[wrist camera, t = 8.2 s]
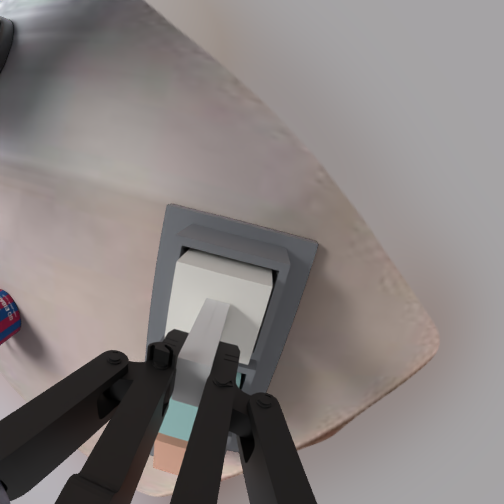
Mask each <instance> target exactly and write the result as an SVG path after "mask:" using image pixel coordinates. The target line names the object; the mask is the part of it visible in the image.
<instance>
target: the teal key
mask: <svg viewBox="0 0 504 504" xmlns="http://www.w3.org/2000/svg"><path fill="white" fill-rule="evenodd" d="M240 379H241V373H239V372H237V376H236V384H237V386H238V387H239V386H240ZM197 410H198V407H195V406H192V405H188V404H185V403H182V402H178V401H175V400H172V396H171V398H170V401H169V407H168V410H167V412H166V415H165V417H164V420H163V422H162V425H161V427H160V430H159V433H162V434H165V435H168V436H172V437H175V438H178V439H182V440H185V441H189V437H190V434H191V430H192V427H193V424H194V420H195V417H196V414H197Z"/></svg>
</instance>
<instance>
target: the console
mask: <svg viewBox="0 0 504 504" xmlns="http://www.w3.org/2000/svg"><path fill="white" fill-rule="evenodd" d="M190 248H194V249H198V250H201V251H205V252H209V253H213V254H217V255H220V256H224V257H228V258H232V259H236V260H239V261H243V262H247V263H251V264H255V265H258V266H262V267H266V268H270V269H272V286H273V287H272V290H271V294H270V297H269V300H268V303H267V307H266V310H265V313H264V316H263V320H262V323H261V326H260V329H259V332H258V336H257V339H256V342H255V345H254V348H253V351H252V354H251V358H250V361H249V364H248V365H247V364H243V363H238V370H237V372H239V373H241V379H240V386H239V389H241V390H242V391H243V392H245V393H247V394H249V395H251V396H252V394H255V393H259V392H263V393H266V391H267V389H268V386H269V384H270V381H271V379H272V376H273V374H274V371H275V368H276V366H277V363H278V361H279V358H280V355H281V353H282V350H283V347H284V345H285V342H286V339H287V336H288V334H289V331H290V328H291V325H292V323H293V320H294V317H295V314H296V311H297V308H298V305H299V303H300V300H301V297H302V294H303V291H304V288H305V285H306V282H307V279H308V276H309V273H310V270H311V267H312V263H313V260H314V257H315V254H316V251H317V248H318V243H317V242H316V241H314V240H310V239H307V238H303V237H299V236H296V235H292V234H288V233H285V232H281V231H277V230H273V229H270V228H266V227H262V226H258V225H255V224H251V223H247V222H243V221H239V220H235V219H231V218H227V217H224V216H220V215H216V214H212V213H208V212H204V211H200V210H196V209H192V208H187V207H183V206H179V205H175V204H168V205H167V207H166V212H165V217H164V222H163V228H162V233H161V239H160V245H159V251H158V257H157V263H156V270H155V276H154V283H153V291H152V298H151V307H150V315H149V324H148V334H147V345H146V356H145V362H146V360H147V348H148V345H149V344H150V343H153V342H163V340H164V338H165V330H166V323H167V316H168V310H169V303H170V297H171V290H172V284H173V279H174V273H175V267H176V262H177V260H178V259H179V258H181V257H182V256H183V255H184V254H185V253H186V252H187V251H188V250H189V249H190ZM227 450H229V451H234V452H239V449H238V444H237V439H236V434H234V433H232V432H230V431H229V433H228V439H227V445H226V451H227ZM226 451H225V454H226ZM150 455H152V456H154V445H153V447H152V450H151V452H150Z"/></svg>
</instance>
